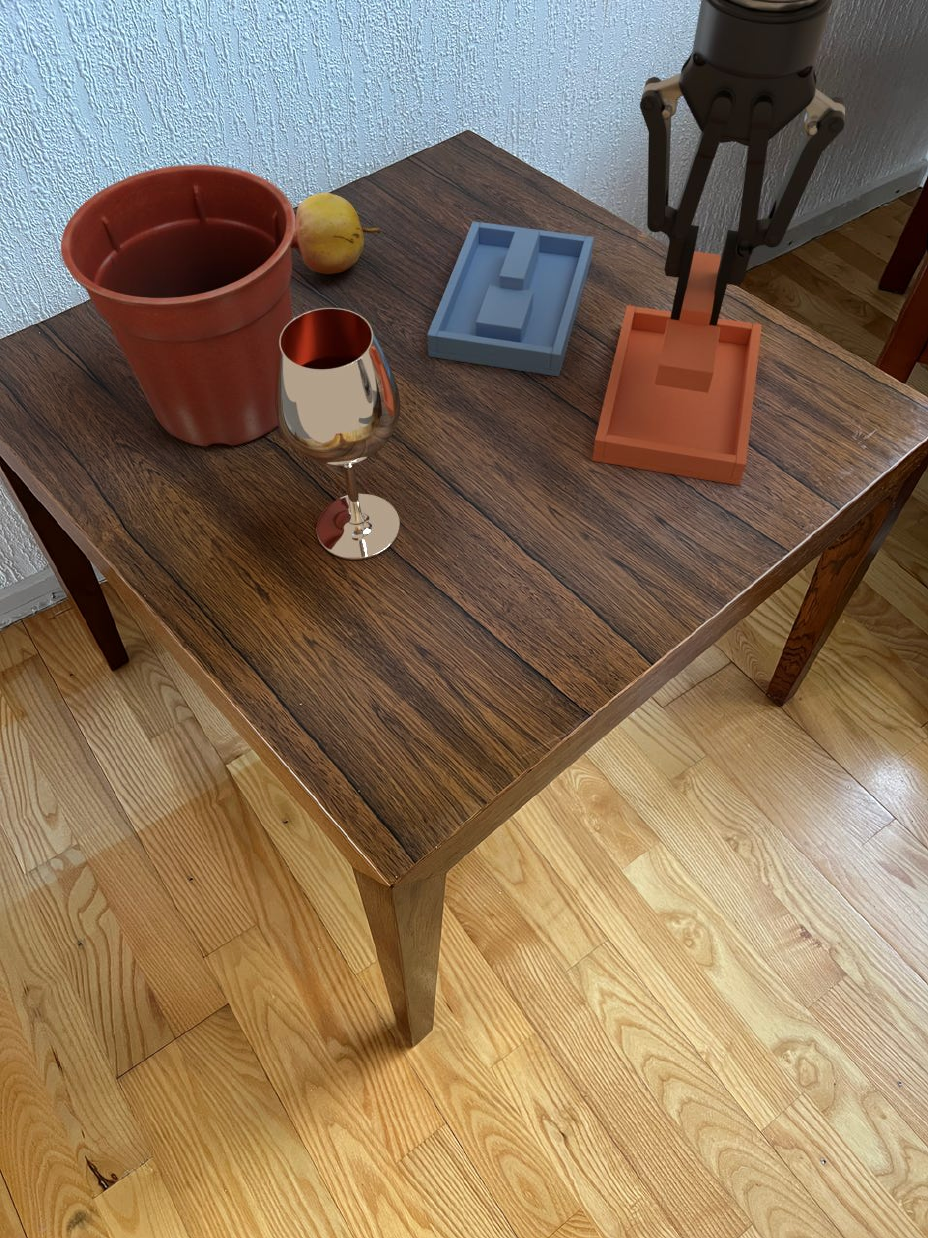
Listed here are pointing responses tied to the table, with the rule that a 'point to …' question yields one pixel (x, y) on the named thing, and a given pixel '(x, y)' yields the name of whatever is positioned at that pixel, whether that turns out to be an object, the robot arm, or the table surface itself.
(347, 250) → the fruit
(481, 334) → the blue stepped block
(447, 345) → the blue tray
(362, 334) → the wineglass
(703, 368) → the red offset step block
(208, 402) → the flower pot
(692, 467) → the red tray
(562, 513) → the table surface
